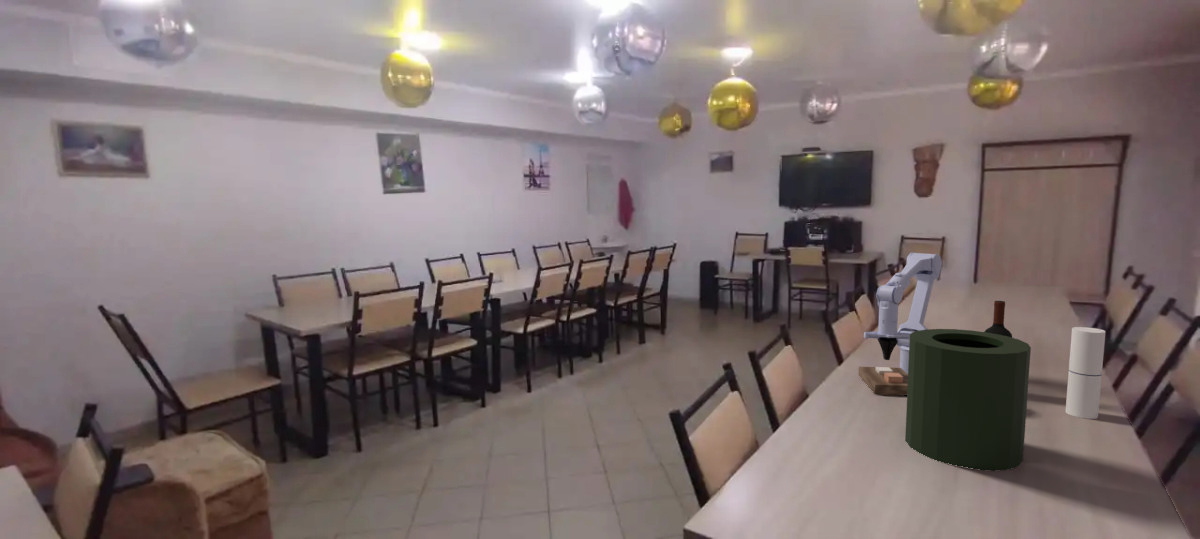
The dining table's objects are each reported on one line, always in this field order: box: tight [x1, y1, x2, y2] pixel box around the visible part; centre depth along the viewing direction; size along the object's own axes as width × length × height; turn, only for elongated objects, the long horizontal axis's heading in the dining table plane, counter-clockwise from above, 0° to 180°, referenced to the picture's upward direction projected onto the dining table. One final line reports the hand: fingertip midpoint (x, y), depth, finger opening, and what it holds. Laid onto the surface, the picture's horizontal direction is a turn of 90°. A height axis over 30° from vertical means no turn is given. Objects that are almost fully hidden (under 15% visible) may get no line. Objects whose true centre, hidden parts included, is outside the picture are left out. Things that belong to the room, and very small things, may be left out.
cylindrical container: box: [1065, 326, 1106, 420], centre depth 159 cm, size 7×7×25 cm
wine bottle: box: [983, 300, 1013, 338], centre depth 178 cm, size 8×8×30 cm
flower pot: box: [904, 328, 1032, 472], centre depth 139 cm, size 25×25×28 cm
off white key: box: [874, 366, 893, 374], centre depth 193 cm, size 4×4×3 cm
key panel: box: [857, 366, 908, 396], centre depth 188 cm, size 14×20×3 cm
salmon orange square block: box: [884, 372, 903, 383], centre depth 183 cm, size 4×4×3 cm
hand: (886, 359), depth 190 cm, fingers closed
